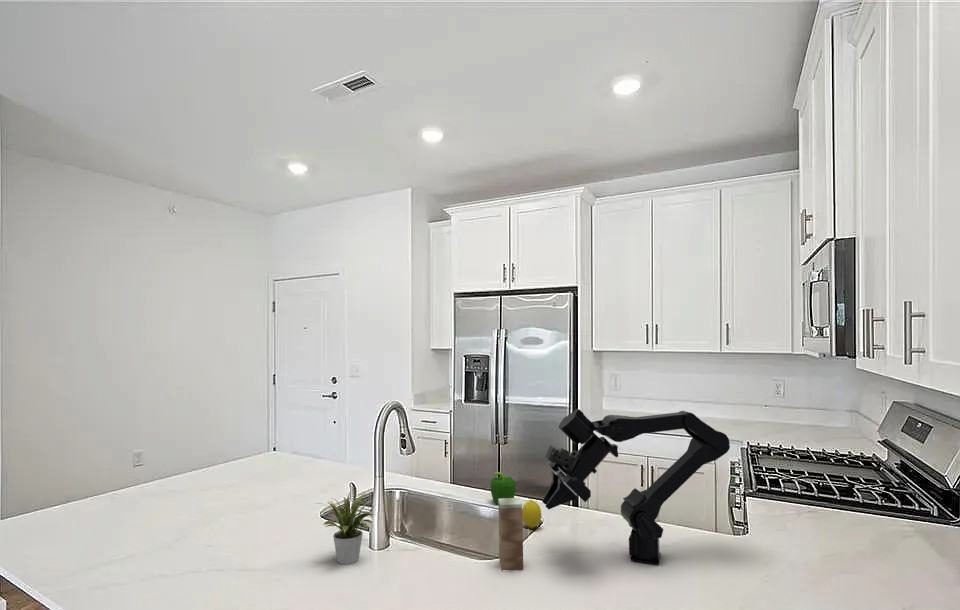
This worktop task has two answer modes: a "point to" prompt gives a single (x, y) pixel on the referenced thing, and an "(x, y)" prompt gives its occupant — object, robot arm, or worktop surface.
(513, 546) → the walnut block
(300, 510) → the worktop surface
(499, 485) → the bell pepper
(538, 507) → the lemon
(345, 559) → the house plant
